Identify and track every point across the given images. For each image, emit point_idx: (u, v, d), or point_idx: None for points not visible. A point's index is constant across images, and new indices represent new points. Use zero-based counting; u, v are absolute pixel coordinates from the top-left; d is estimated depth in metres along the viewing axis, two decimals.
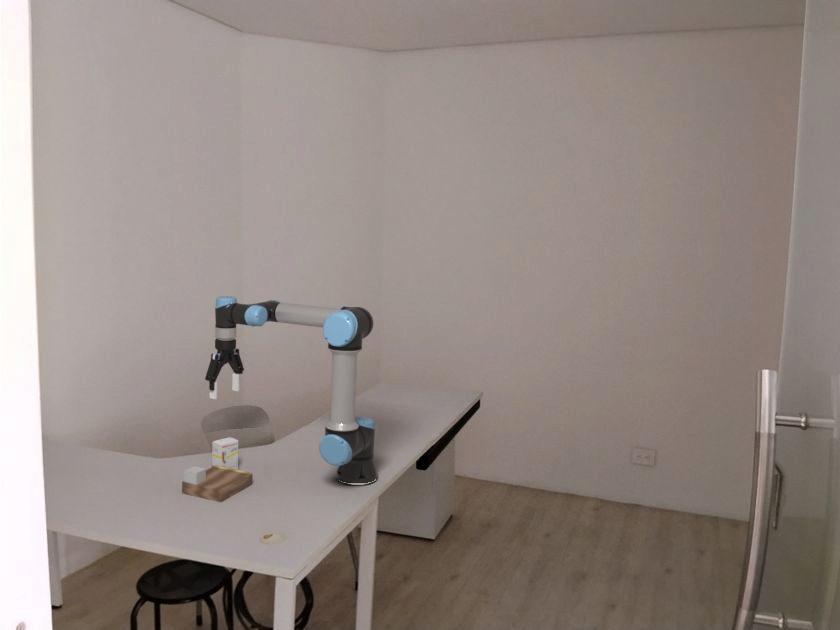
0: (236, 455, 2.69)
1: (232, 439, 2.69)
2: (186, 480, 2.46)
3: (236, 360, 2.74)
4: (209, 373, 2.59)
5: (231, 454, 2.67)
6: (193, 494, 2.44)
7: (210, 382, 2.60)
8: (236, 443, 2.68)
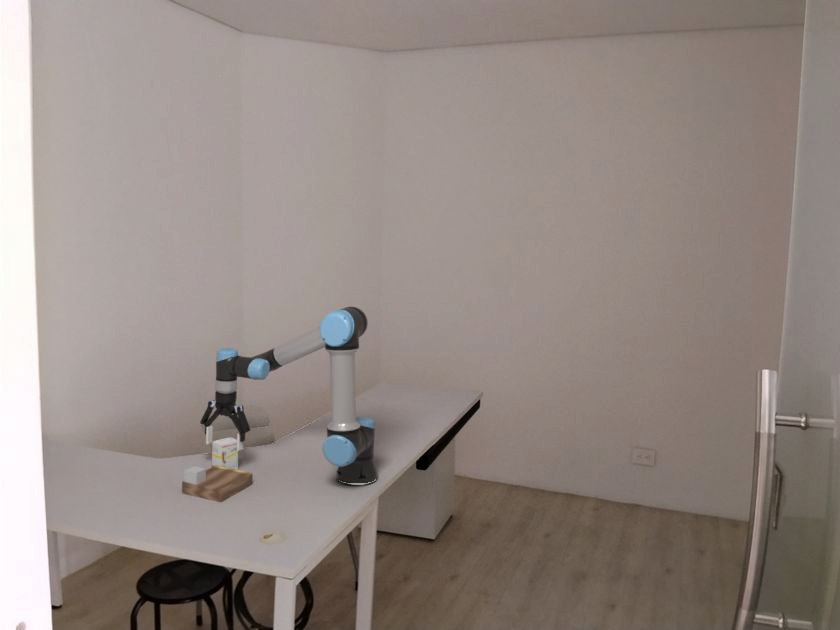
0: (236, 455, 2.69)
1: (232, 439, 2.69)
2: (186, 480, 2.46)
3: None
4: None
5: (231, 454, 2.67)
6: (193, 494, 2.44)
7: None
8: (236, 443, 2.68)
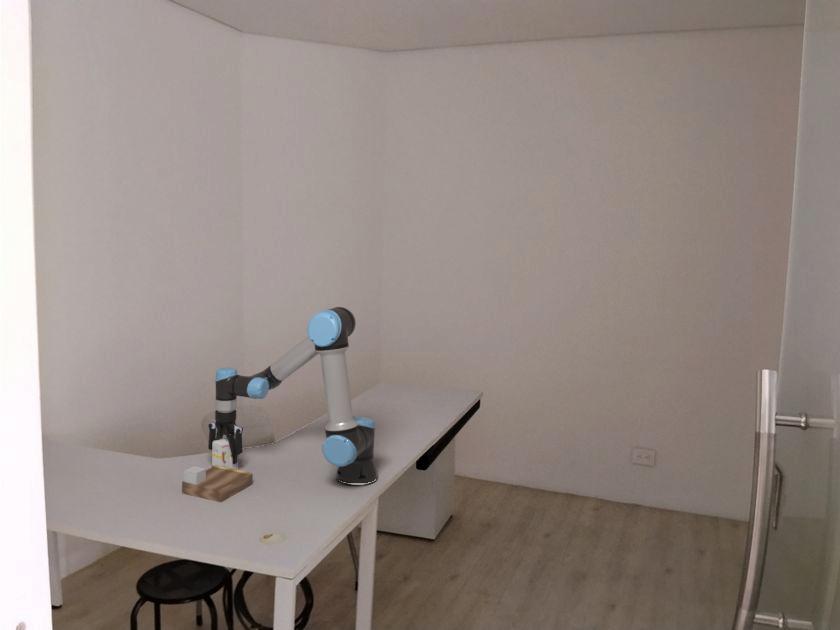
0: None
1: None
2: (186, 480, 2.46)
3: None
4: None
5: (231, 454, 2.67)
6: (193, 494, 2.44)
7: None
8: None
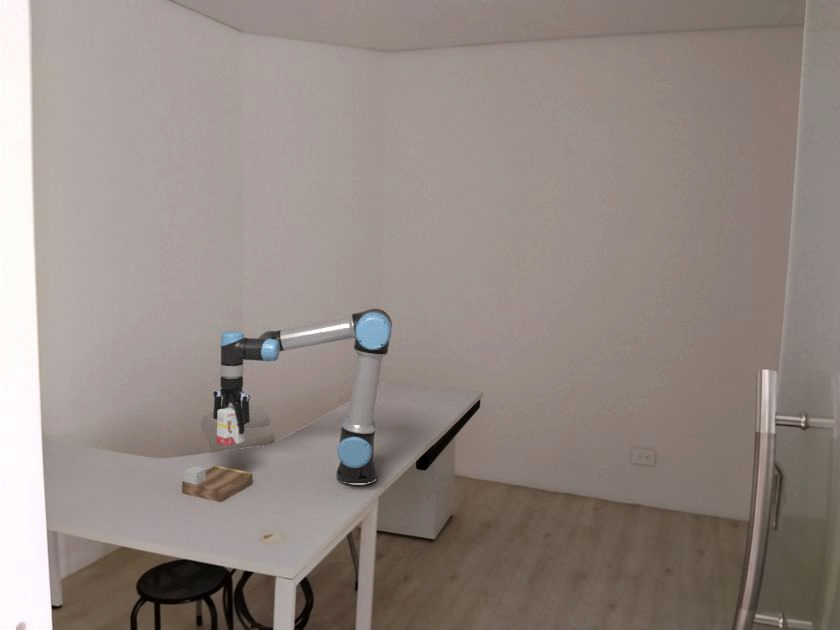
0: None
1: None
2: (186, 480, 2.46)
3: None
4: None
5: (237, 423, 2.50)
6: (193, 494, 2.44)
7: None
8: None
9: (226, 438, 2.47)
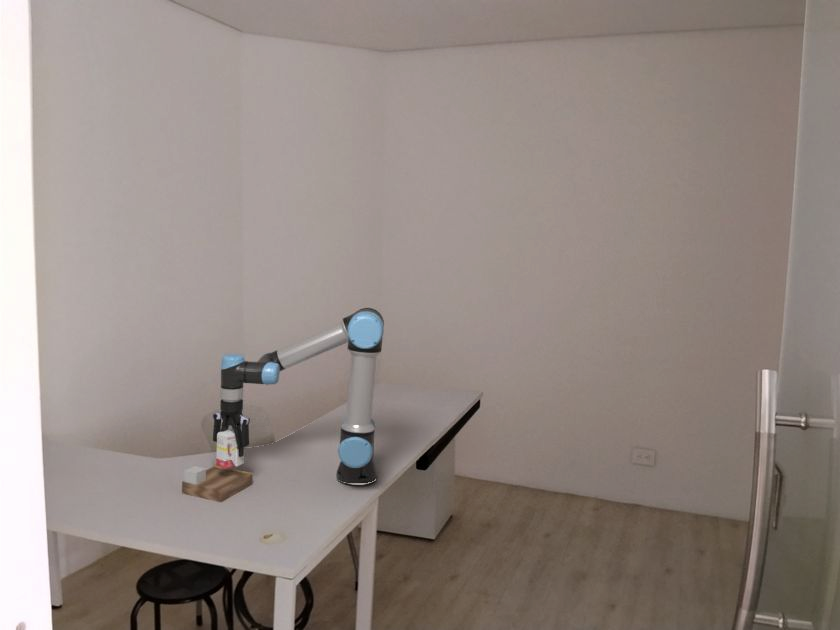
0: None
1: None
2: (186, 480, 2.46)
3: None
4: None
5: (236, 446, 2.50)
6: (193, 494, 2.44)
7: None
8: None
9: (226, 461, 2.48)
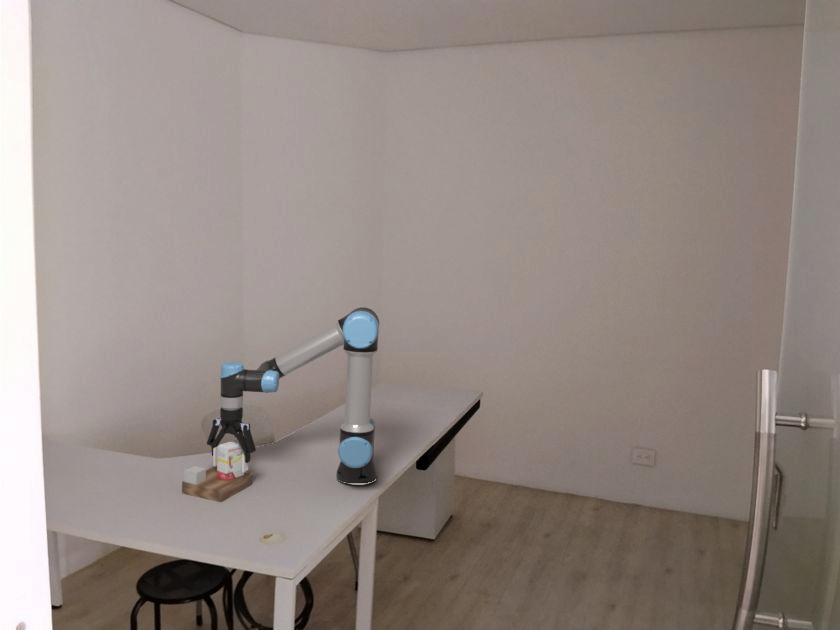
0: None
1: (238, 442, 2.53)
2: (186, 480, 2.46)
3: None
4: None
5: (237, 458, 2.51)
6: (193, 494, 2.44)
7: None
8: None
9: (227, 473, 2.48)
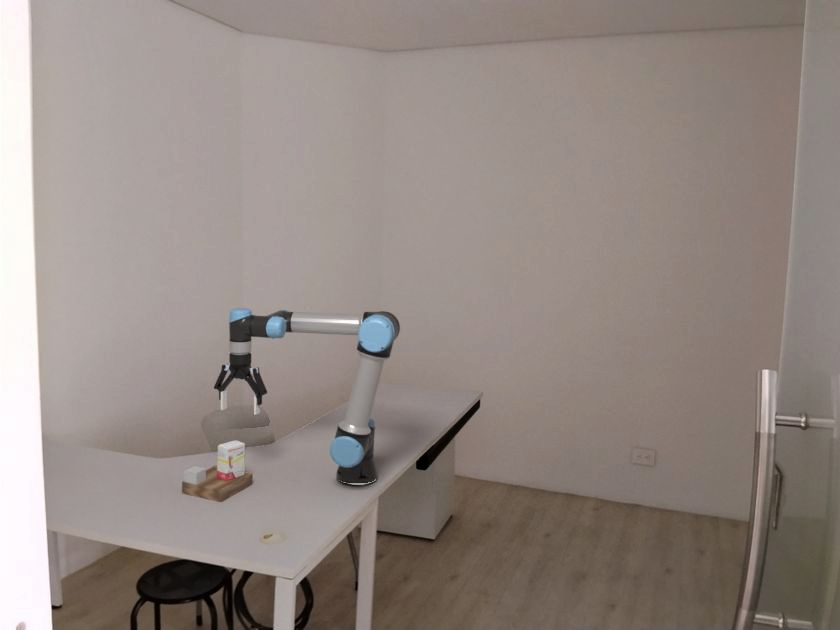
0: (243, 459, 2.53)
1: (238, 442, 2.53)
2: (186, 480, 2.46)
3: None
4: None
5: (237, 458, 2.51)
6: (193, 494, 2.44)
7: None
8: (243, 446, 2.53)
9: (227, 473, 2.48)
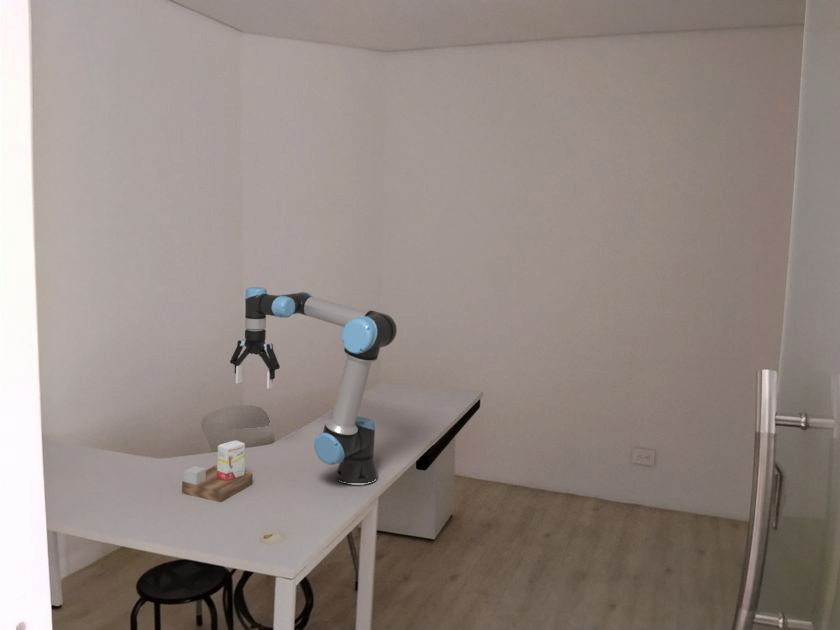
0: (243, 459, 2.53)
1: (238, 442, 2.53)
2: (186, 480, 2.46)
3: None
4: None
5: (237, 458, 2.51)
6: (193, 494, 2.44)
7: None
8: (243, 446, 2.53)
9: (227, 473, 2.48)
